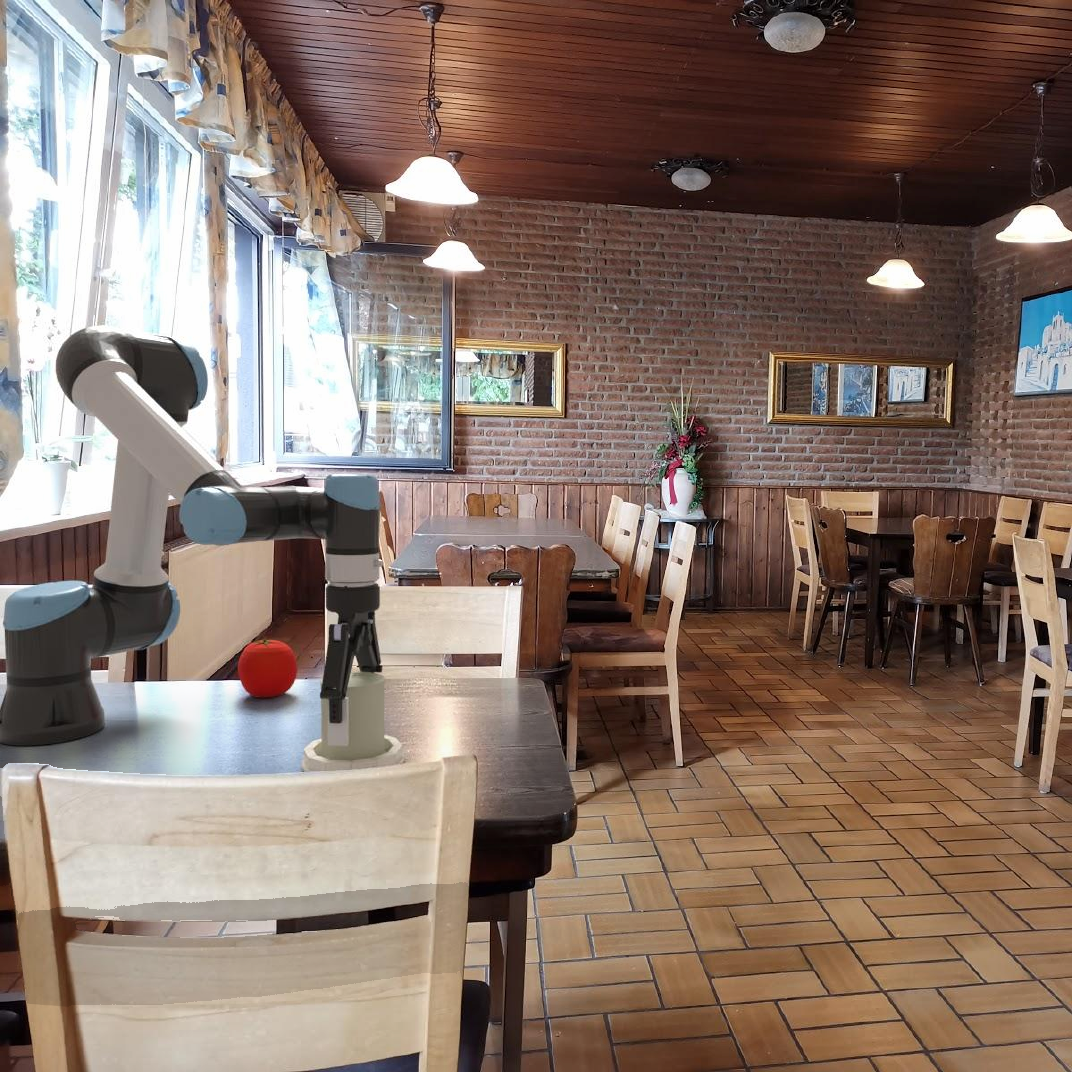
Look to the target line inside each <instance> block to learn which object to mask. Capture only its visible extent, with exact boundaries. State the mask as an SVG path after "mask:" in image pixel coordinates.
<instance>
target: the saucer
mask: <svg viewBox="0 0 1072 1072" xmlns="http://www.w3.org/2000/svg"><path fill="white" fill-rule="evenodd" d="M384 739H385V752H386V753H385V754H382V755H379V756H376V757H374V758H368V759H360V760H352V761H349V760H330V759H327V758H324V757H321V747H322V737H321V738H319V739H316V740H312V741H311V742H310V743H308V745H306V746H305V747H304V748H303V757H302V759H301V770H302V771H332V770H347V769H359V768H364V767H372V766H381V765H390V764H399V763H405V755H404V754H405V753H404V752H403V744H402V743H401V741H399V740H398V738H396V737H394V736H390V735H388V734H384Z"/></svg>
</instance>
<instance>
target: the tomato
mask: <svg viewBox="0 0 1072 1072" xmlns="http://www.w3.org/2000/svg"><path fill="white" fill-rule="evenodd" d="M239 657H240V658H239V660H238V664H237V673H238V676H239V679H240V680H239V681H240V682H241V685H242V687H243V689H244V690H245V692H247V693H248V694H249V695H250V696H252V697H256V698H274V697H278V696H281V695H284V694H285V693H287V692H288V691H289V690H290V689H291V688H292V687H293V685H294V683H295V681H296V678H297V676H298V675H297V674H298V664H297V663H298V662H297V657H296V655H295V652H294V651H293V649H292V648H291V647H290V646H289V645H288V644H286V643H285V642H283V641H279V640H276V639H266V638H263V639H261V640H255V641H252V642H251V643H249V644H248V645H247V646H246V647H244V649H243V651H242V653H241V655H240V656H239Z"/></svg>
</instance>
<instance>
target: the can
mask: <svg viewBox="0 0 1072 1072" xmlns="http://www.w3.org/2000/svg"><path fill="white" fill-rule="evenodd" d="M322 682H323V677H322V678H321V679H320V681H319V684H320V690H321V689H322ZM385 683H386V678H385V677H384V675H382V674H380V673H378V672H374V673H371V672H360V671H351V674H350V678H349V683H348V687H347V692H346V697H349V744H348V745H347V746H336V745H328V735H327V699H321V698H320V710H321V711H320V712H321V713H320V714H321V719H320V720H321V722H320V723H321V738H322V747H321V757H324V758H327V759H330V760H349V761H352V760H360V759H368V758H374V757H376V756H379V755H382V754H385V753H386V752H385V739H384V735H385ZM334 689H336V688H334Z"/></svg>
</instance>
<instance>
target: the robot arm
mask: <svg viewBox="0 0 1072 1072" xmlns="http://www.w3.org/2000/svg"><path fill="white" fill-rule="evenodd" d="M55 375H56V379H57V382H58V384H59V386H60V388H61V390H62V392H63V394H64V395H65V397H66V398H67V399H68V400H69V401H70V402H71V403H72V404H73V405H74V407H76V409H77V410H78V411H80V413H83V414H84V415H87V416H90V417H95V418H97V420H98V421H99V422H100V423H101V424H102V425H103V426H104V427H105V428H106V430H108V431H109V432H110V433H111V434H112V435H113V436H114V437H115V438H116V439H117V447H116V454H115V455H116V457H115V466H114V468H115V469H114V475H113V484H112V485H113V486H112V494H111V495H112V496H111V505H110V512H109V513H110V515H109V521H108V522H109V524H108V533H107V544H106V551H105V553H106V554H105V562H104V563H103V564H102V565H100V566H99V567H98V568H96V569H95V570H94V573H93V579H92V580H93V581H92V586H91V587H89V584H88V583H87V582H86V581H82V580H61V581H56V582H45V583H39V584H36V585H31V586H28V587H24V588H20V589H19V590H17V591H14V592H12V594H10V595H9V596H8V597H7V598H6V600H5V602H4V610H3V611H4V613H3V620H2V625H3V626H2V627H3V628H4V643H5V644H4V645H5V647H4V648H5V650H4V651H5V652H4V653H5V672H6V689H5V693H4V696H3V698H2V699H3V700H2V702H1V705H0V744H5V745H10V746H41V745H42V746H43V745H51V744H58V743H59V744H60V743H64V742H68V741H73V740H77V739H81V738H84V737H87V736H92V735H93V734H96V733H97V732H99V731H100V730H102V729H103V728H104V727H105V724H106V723H105V719H106V717H105V710H104V707H103V705H102V703H101V700H100V698H99V695H98V693H97V690H96V688H95V685H94V683H93V680H92V659H94V658H95V659H96V658H100V657H106V656H112V655H115V654H121V653H126V652H132V651H142V650H145V649H147V648H149V647H150V648H151V647H153V646H157V645H160V644H162V643H164V642H165V641H166V640H168V639H169V638H170V637H171V635H172V634H174V632H175V630H176V628H177V626H178V623H179V620H180V615H181V602H180V599H178V597H177V596H178V591H177V590H176V588H175V586H174V585H172V583H170V582H169V580H170V579H169V578H170V577H169V574H167V572H166V571H165V570H164V569H163V568H162V557H163V550H164V549H163V548H164V543H165V542H164V540H165V532H166V525H167V524H166V523H167V517H168V516H167V515H168V507H169V498H170V495H171V497H172V498H173V499H175V500H176V501H177V503H178V504H179V505H180V507H179V512H178V513H179V522H180V524H181V525H182V526H183V532H184V534H185V536H186V537H187V538H188V539H189V540H190V541H192V542H193V543H195V544H198V545H203V546H208V545H209V546H212V545H213V546H214V545H215V546H219V547H220V546H222V547H223V546H229V545H236V544H245V543H254V542H265V541H266V542H267V541H279V540H290V539H314V540H316V539H317V540H325V542H324V543H325V544H324V545H325V554H324V555H325V556H324V557H325V559H324V560H325V561H324V562H325V564H324V565H325V566H324V568H325V569H324V570H325V571H324V575H325V576H324V579H325V580H326V582H329V583H328V584H327V586H325V608H326V610H327V611H328V612H329V613H336V614H337V616H338V618H337V624H336V623H330V624H329V625H328V642H327V649H326V655H325V663H324V669H323V676H322V678H323V682H322V689H321V688H320V692H319V698H320V700H321V699H327V735H328V745H336V746H347V745H348V744H349V697H346V692H347V687H348V683H349V678H350V674H351V672H352V668H353V664H354V660H356V661H357V662H356V663H357V665H358V668H359V672H371V673H378V674H380V673H382V672H383V665H381V663H382V660H381V652H380V646H379V639H378V633H377V626H376V611H378V610H379V609H380V606H381V603H380V601H381V597H380V595H381V592H380V591H381V586H380V585H379V584H378V583H376V582H377V581H378V580H379V579H380V567H382V566H383V565H384V561H383V560H382V559H380V522H381V521H380V519H381V507H382V503H381V500H380V485H379V480H378V478H377V477H376V476H374V475H372V474H353V473H352V474H349V473H347V474H346V473H340V474H338V473H337V474H336V473H335V474H334V473H330V474H328V475H327V476H326V477H325V481H324V486H323V487H316V486H315V487H313V486H312V487H311V486H295V485H291V484H290V485H278V486H270V487H269V486H268V487H267V486H266V487H265V486H251V487H250V486H249V487H248V486H243V485H242V484H240V482H238V481H237V480H236V478H234V477H233V476H232V475H231V474H230V473H229V472H227V470H226V469H225V468H224V467H223V466H222V465H221V464H220V463H219V462H218V461H217V460H215V458H214V457H213V456H212V455H211V454H209V452H208V451H206V449H204V447H202V446H201V444H200V443H198V442H197V441H196V440H195V438H194V437H193V436H191V435H190V433H188V432H187V431H186V430H185V429H184V428H183V427H184V426H185V425H186V424H187V423H188V419H189V411H191V410H194V409H196V408H198V407H199V406H200V405H201V404H202V401H204V400H205V398H206V396H207V391H208V386H209V384H208V383H209V378H208V371H207V366H206V364H205V361H204V359H203V358H202V356H200V353H199V351H198V349H197V348H196V347H195V346H193V345H192V344H191V343H189V342H187V341H186V340H184V339H183V340H182V339H180V338H176V337H172V336H169V335H166V334H158V333H152V332H143V331H137V330H131V329H125V328H118V327H115V326H110V325H93V326H91V325H90V326H88V327H84V328H81V329H79V330H77V331H75V332H74V333H72V334H71V335H70V336H69V337H68V338H67V339H66V340H65V341H64V342H63V343H62V345H61V347H59V350H58V351H57V355H56V360H55ZM334 688H336V689H334Z"/></svg>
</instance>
